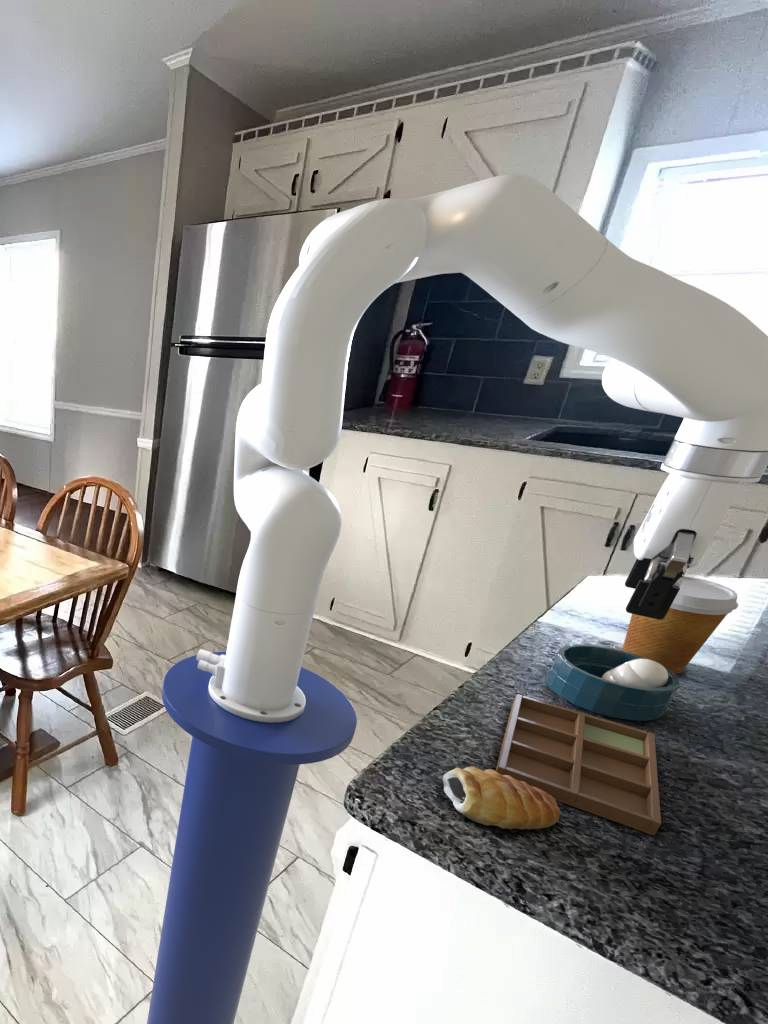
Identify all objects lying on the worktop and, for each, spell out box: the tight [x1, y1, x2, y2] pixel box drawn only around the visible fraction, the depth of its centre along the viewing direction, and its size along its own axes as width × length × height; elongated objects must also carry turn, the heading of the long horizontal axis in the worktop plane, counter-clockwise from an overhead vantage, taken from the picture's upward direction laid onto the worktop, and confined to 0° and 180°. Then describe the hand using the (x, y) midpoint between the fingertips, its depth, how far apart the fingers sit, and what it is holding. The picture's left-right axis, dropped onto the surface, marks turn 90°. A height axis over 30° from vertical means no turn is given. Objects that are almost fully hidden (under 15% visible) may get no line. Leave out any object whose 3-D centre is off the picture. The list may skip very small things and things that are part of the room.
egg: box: [602, 659, 668, 688], centre depth 80 cm, size 4×4×6 cm
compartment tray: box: [495, 693, 662, 836], centre depth 71 cm, size 13×19×2 cm
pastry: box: [441, 765, 561, 831], centre depth 65 cm, size 9×7×4 cm
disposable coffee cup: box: [621, 575, 739, 675], centre depth 87 cm, size 10×10×12 cm
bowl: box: [545, 643, 681, 722], centre depth 81 cm, size 11×11×5 cm
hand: (642, 601), depth 76 cm, fingers open, 9 cm apart
